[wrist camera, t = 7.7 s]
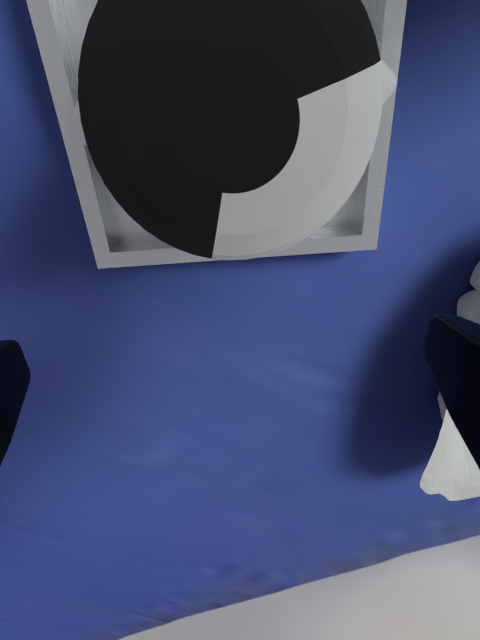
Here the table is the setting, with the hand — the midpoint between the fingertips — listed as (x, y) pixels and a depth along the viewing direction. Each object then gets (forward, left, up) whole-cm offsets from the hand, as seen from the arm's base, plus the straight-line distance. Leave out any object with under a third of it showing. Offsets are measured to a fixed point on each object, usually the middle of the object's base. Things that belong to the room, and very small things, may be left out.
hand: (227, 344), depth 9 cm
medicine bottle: (0, -4, -13) cm, 14 cm away
